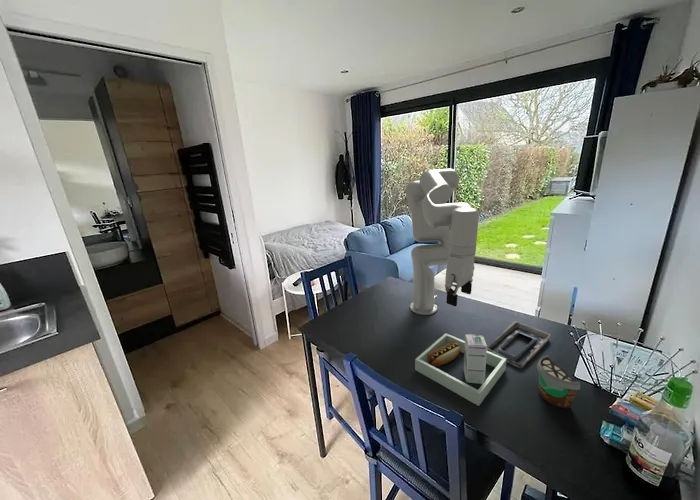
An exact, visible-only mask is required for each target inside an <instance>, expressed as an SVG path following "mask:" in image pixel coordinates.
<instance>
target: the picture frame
mask: <svg viewBox="0 0 700 500" xmlns="http://www.w3.org/2000/svg"><path fill="white" fill-rule="evenodd" d="M516 328H517V329H518V330H515V329H516ZM513 330H514V333H513V334H511V332H512V331H513ZM521 330H522V331H525V332H527V334H526V333H523V332H519V331H521ZM520 334H521V335H523V336H526V337H528V338H530V339H532V340H531V341H529V343H528V344H526V345H525V346H524V348H522V350H520V351H519V353H517V355H514V354H511V353H509V352H507V351H505V350H503V349H504V348H505V347H507V345H508V344H510V343H512V341H513V340H514V339H515V338H516V337H518V336H519V335H520ZM528 334H529V335H528ZM507 335H508V336H507ZM506 336H507V337H506ZM550 336H551V334H550V333H548V332H545V331H543V330H540V329H537V328H534V327H533V326H529V325H527V324H525V323H522V322H519V321H516V320H514V321H513V322H511V324H510V325H508V326H507V327H506V328H505V329H504V330H503V332H502V333H501V335H500V334H499V336H498V337H496V339H494V340H493V342H492V343H490V344H488V345H487V351H489V352H491V353H494V354H496V355H499V356H501V357H503V358H506V359H507V360H506V363H508V364H511V365H512V366H514V367H516V368H517V369H522V368H524V367H525V365H526V364H528V362H529V361H531V359H533V357H534V356H536V354H538V353H539V352H540V350H541V349H543V347H544V345H547V343H548V341H549V339H550ZM504 338H505V339H504ZM539 339H540V341H539V344H537V345H534V344H535V343H536V342H537V341H538V340H539ZM499 342H501V343H502V344H498V343H499ZM496 345H498V348H497V349H496V350H497V351H498V352H496V351H494V350H492V348H494V346H496ZM533 345H534V346H533ZM531 346H533V348H534V349H530V348H531ZM529 349H530V350H529ZM527 350H529V352H530V355H529V356H527V357H526V359H525V360H524V362H522V364H521V363H520V362H516V361H517V360H518V359H519V358H520V357H521V356H522V355H523V354H525V352H526V351H527ZM523 358H525V355H524V356H523Z"/></svg>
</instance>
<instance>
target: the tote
mask: <svg viewBox="0 0 700 500" xmlns="http://www.w3.org/2000/svg"><path fill="white" fill-rule="evenodd" d="M448 343H458V344H459V347H460V353H463V354H464V347H465V340H463V339H461V338H458V337H457V336H453V335H451V334H449V333H444V334H443V335H441V337H439V338H438V339H437V340H436V341H435V342H433V343H432V344H431V345H430V346H428V348H426V349H425V350H424V351H423V352H422V353H421V354H420V355H418V356H417V357H416V358H415V359H414V360H415V362H414V368H415V369H414V371H416V372H418V373H419V374H422V375H423V376H425V377H427V378H429V379H430V380H432V381H433V382H436V383H437V384H439V385H442V386H443V387H444V388H446V389H448V390H450V391H451V392H453V393H455V394H457V395H459V396H460V397H462V398H464V399H466V400H467V401H469V402H470V403H473V404H474V405H476V406H477V407H478V406H481V404H482V402H483V401H484V400H485V398H486V397H487V395H489V393H490V392H491V390H492V389H493V387H494V386H495V385H496V383H497V382H498V381H499V380H500V378H501V377H502V376H503V374H504V373H505V371H506V369H507V368H506V367H507V362H506V360H507V359H506V358H507V357H506V358H503V357H501V356H499V355H496V354H494V353H491V352H489V351H488V350H487V354H486V365H488V366H491V367H493V368H494V369H493V370H492V372H491V373H490V374H489V375H488V377H487V378H486V379H485V381H484V383H483V384H481V386H480V387H479V388H478V389H477V388H476V387H473V386H472V385H469V384H467V382H464V381H462V380H460V379H458V378H456V377H454V376H452V375H451V374H449V373H447V372H445V371H444V370H441V369H440V368H437V366H433V365H432V364H431V363H429V362H430V361H429V354H430V353H431V352H433V351H435V350H437V349H439V348H441V347H443V346H444V345H446V344H448Z"/></svg>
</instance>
